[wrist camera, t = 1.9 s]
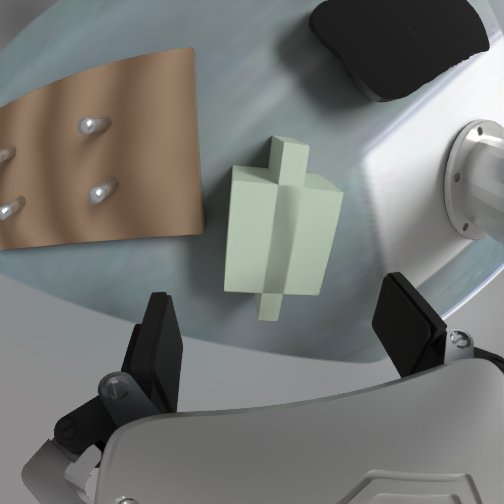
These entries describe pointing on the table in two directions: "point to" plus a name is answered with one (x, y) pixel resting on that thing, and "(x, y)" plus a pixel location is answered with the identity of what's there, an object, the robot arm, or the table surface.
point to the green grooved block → (279, 228)
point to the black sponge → (398, 41)
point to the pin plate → (103, 155)
